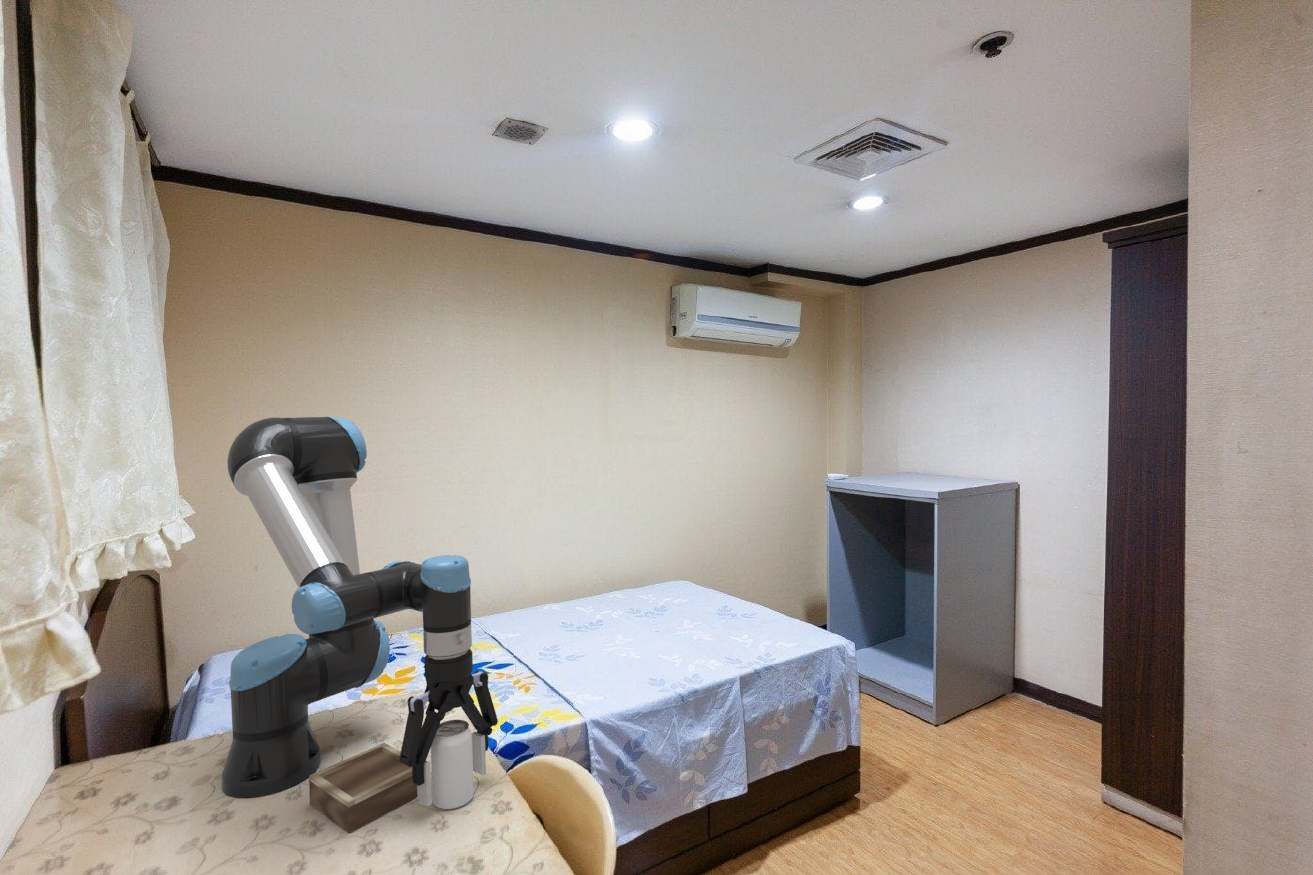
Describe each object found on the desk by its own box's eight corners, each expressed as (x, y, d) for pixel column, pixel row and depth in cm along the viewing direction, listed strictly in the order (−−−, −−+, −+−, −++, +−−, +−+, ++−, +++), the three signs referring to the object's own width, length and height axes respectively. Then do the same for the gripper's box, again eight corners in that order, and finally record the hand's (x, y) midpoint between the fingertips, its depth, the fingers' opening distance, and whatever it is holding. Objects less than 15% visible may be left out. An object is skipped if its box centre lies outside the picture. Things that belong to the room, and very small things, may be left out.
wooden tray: (310, 804, 104) (308, 775, 104) (385, 768, 114) (384, 742, 114) (349, 833, 96) (348, 802, 96) (426, 792, 106) (425, 764, 106)
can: (461, 813, 100) (459, 738, 100) (424, 809, 101) (422, 735, 101) (480, 790, 106) (478, 719, 106) (446, 786, 108) (443, 717, 108)
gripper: (397, 679, 92) (402, 830, 93) (516, 636, 110) (520, 763, 111) (370, 668, 97) (376, 812, 97) (489, 629, 115) (493, 750, 115)
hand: (453, 786), depth 104 cm, fingers open, 10 cm apart
